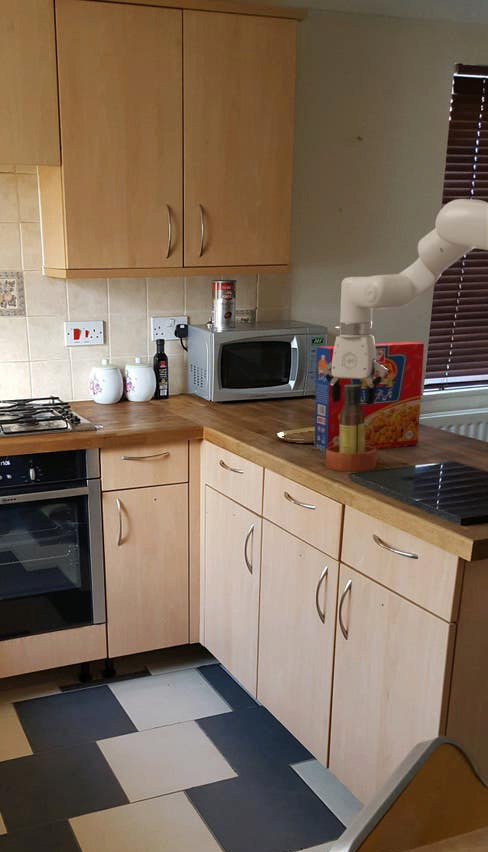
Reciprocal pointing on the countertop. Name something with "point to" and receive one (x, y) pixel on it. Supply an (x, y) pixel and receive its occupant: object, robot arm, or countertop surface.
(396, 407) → the pasta box
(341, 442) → the sauce bottle
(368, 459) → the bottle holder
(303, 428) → the serving platter
